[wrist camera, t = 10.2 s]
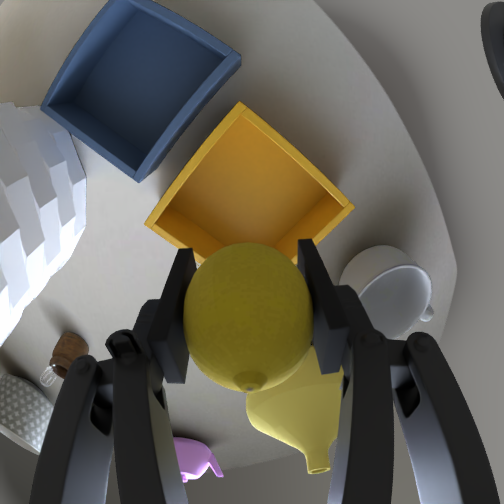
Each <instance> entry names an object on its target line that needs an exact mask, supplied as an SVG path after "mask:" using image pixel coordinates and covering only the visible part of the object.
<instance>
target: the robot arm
mask: <svg viewBox="0 0 504 504" xmlns="http://www.w3.org/2000/svg"><path fill="white" fill-rule="evenodd" d="M297 268H298V269H299V271H300V272H301V273H302V275H303V277H304V279H305V282H306V284H307V286H308V289H309V291H310V294H311V297H312V302H313V315H314V331H313V338H312V340H313V343H314V347H315V351H316V355H317V359H318V363H319V367H320V372H321V375H324V374H331V373H337V372H339V371H340V367H341V365H342V368H343V372H344V375H343V378H342V381H341V385H340V388H339V390H341V403H340V415H339V426H338V435H337V444H336V452H335V460H334V466H333V473H332V479H331V485H330V491H329V497H328V502H327V504H391V496H392V483H393V466H394V465H393V464H394V414H393V401H394V404H395V407H396V411H397V414H398V417H399V420H400V423H401V426H402V430H403V433H404V437H405V440H406V444H407V448H408V451H409V455H410V459H411V462H412V467H413V471H414V475H415V479H416V483H417V487H418V492H419V497H420V502H421V504H500V500H499V496H498V492H497V488H496V484H495V480H494V477H493V473H492V470H491V466H490V463H489V460H488V457H487V454H486V451H485V448H484V445H483V443H482V440H481V437H480V434H479V432H478V429H477V427H476V424H475V422H474V419H473V417H472V414H471V412H470V410H469V407H468V405H467V403H466V400H465V398H464V396H463V394H462V392H461V389H460V387H459V385H458V383H457V381H456V379H455V377H454V375H453V373H452V371H451V369H450V367H449V365H448V363H447V361H446V359H445V357H444V356H443V354H442V352H441V350H440V348H439V346H438V344H437V342H436V341H435V340H434V338H433V337H432V336H430V335H429V334H427V333H424V332H415V333H412V334H411V335H410V336H409V337H408V338H407V341H404V340H392V339H387V338H386V336H385V335H384V334H383V333H382V332H380V331H378V330H376V329H374V327H373V325H372V323H371V321H370V319H369V317H368V315H367V313H366V311H365V309H364V307H363V306H362V303H361V301H360V300H359V297H358V295H357V293H356V291H355V290H354V289H353V288H352V287H350V286H349V285H348V284H347V285H338V286H333V284H332V281H331V279H330V277H329V275H328V272H327V270H326V268H325V266H324V264H323V261H322V259H321V257H320V255H319V253H318V251H317V249H316V246H315V244H314V242H313V240H312V238H310V239H298V256H297ZM196 270H197V268H196V263H195V258H194V253H193V248H180V249H179V250H178V252H177V255H176V257H175V260H174V263H173V265H172V268H171V270H170V273H169V276H168V278H167V281H166V284H165V287H164V289H163V292H162V295H161V298H160V299H152V300H148V301H147V302H146V303H145V304H144V305H143V306H142V307H141V310H140V312H139V316H138V317H137V320H136V323H135V325H134V328H133V330H128V329H123V330H119V331H116V332H114V333H113V334H111V335H110V336H109V337H108V339H107V340H106V343H105V346H106V347H107V349H108V351H109V352H110V354H111V356H112V357H113V358H112V359H108V360H103V361H99V362H97V361H96V359H95V358H94V357H93V356H91V355H81V356H79V357H77V358H76V359H75V360H74V361H73V362H72V363H71V365H70V367H69V369H68V372H67V374H66V377H65V379H64V382H63V384H62V387H61V389H60V392H59V395H58V398H57V400H56V403H55V406H54V409H53V412H52V415H51V418H50V421H49V424H48V427H47V430H46V433H45V437H44V440H43V444H42V447H41V451H40V455H39V459H38V463H37V467H36V471H35V475H34V480H33V485H32V490H31V496H30V502H29V504H105V499H106V491H107V482H108V476H109V470H110V463H111V457H112V451H113V446H114V451H115V462H116V472H117V481H118V488H119V495H120V501H121V504H189V503H188V499H187V496H186V492H185V488H184V484H183V480H182V476H181V472H180V468H179V464H178V459H177V455H176V450H175V445H174V440H173V435H172V430H171V425H170V419H169V413H168V407H167V401H166V394H165V390H164V387H163V385H162V382H163V377H165V379H166V381H167V383H179V384H185V379H186V373H187V366H188V360H189V354H190V353H189V350H188V347H187V344H186V340H185V336H184V329H183V311H184V300H185V295H186V292H187V289H188V287H189V284H190V282H191V280H192V278H193V275H194V273H195V272H196Z"/></svg>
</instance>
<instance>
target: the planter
mask: <svg viewBox="0 0 504 504" xmlns="http://www.w3.org/2000/svg"><path fill="white" fill-rule="evenodd" d="M53 409H54V406H53V405H52V404H51V403H50V402H49V400H48V399H47V397H46V396H45V395H44V393H43V392H42V391H41V390H40V389H39V388H38V387H37V386H35V385H34V384H33V383H31V382H30V381H28V380H26V379H23V378H20V377H15V376H13V375H10V374H4V375H3V376H2V378H1V380H0V432H2V433H3V434H4V435H5V436H7V437H8V438H10V439H11V440H13V441H14V442H16V443H17V444H19V445H20V446H22V447H24V448H25V449H27V450H29V451H31V452H33V453H35V454H38V455H40V451H41V447H42V444H43V440H44V437H45V433H46V430H47V427H48V424H49V421H50V418H51V415H52V412H53Z"/></svg>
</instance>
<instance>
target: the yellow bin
mask: <svg viewBox="0 0 504 504" xmlns="http://www.w3.org/2000/svg"><path fill="white" fill-rule="evenodd" d="M354 208H355V206H354V205H353V204H352V203H351V202H350V201H349V200H348V199H347V197H346V196H345V195H344V194H343V193H342V192H341V191H340V190H339V189H338V188H337V187H336V186H335V185H334V184H333V183H332V182H331V181H330V180H329V179H328V178H327V177H326V176H325V175H324V174H323V173H322V172H321V171H320V170H319V169H318V168H317V167H316V166H314V165H313V164H312V163H311V162H310V161H309V160H308V159H307V158H306V157H305V156H304V155H303V154H302V153H301V152H300V151H298V150H297V149H296V148H295V147H294V146H293V145H292V144H291V143H290V142H289V141H287V140H286V139H285V138H284V137H283V136H282V135H281V134H279V133H278V132H277V131H276V130H275V129H274V128H272V127H271V126H270V125H269V124H268V123H267V122H265V121H264V120H263V119H262V118H261V117H259V116H258V115H257V114H256V113H254V112H253V111H252V110H251V109H250V108H248V107H247V106H246V105H245V104H243V103H242V102H241V101H239V102H238V103H237V104H236V105H235V106H234V107H233V108H232V109H231V111H230V112H229V113H228V114H227V115H226V116H225V117H224V119H223V120H222V121H221V122H220V123H219V124H218V126H217V127H216V128H215V129H214V130H213V132H212V133H211V134H210V135H209V136H208V138H207V139H206V140H205V141H204V142H203V144H202V145H201V146H200V147H199V149H198V150H197V151H196V152H195V154H194V155H193V156H192V158H191V159H190V160H189V161H188V163H187V164H186V165H185V167H184V168H183V169H182V171H181V172H180V173H179V175H178V176H177V177H176V179H175V180H174V181H173V183H172V184H171V185H170V187H169V188H168V190H167V191H166V192H165V194H164V195H163V197H162V198H161V199H160V201H159V202H158V204H157V205H156V207H155V208H154V209H153V211H152V212H151V214H150V215H149V217H148V218H147V220H146V221H145V223H144V225H145V226H147V227H148V228H150V229H151V230H152V231H154V232H155V233H157V234H158V235H160V236H161V237H162V238H164V239H165V240H167V241H168V242H169V243H171V244H172V245H174V246H175V247H177V248H178V249H180V248H193V253H194V258H195V260H196V261H197V262H198V263H200V264H201V265H202V263H203V262H204V261H205V260H206V259H207V258H208V257H209V256H211V255H212V254H214V253H215V252H217V251H218V250H220V249H221V248H224V247H226V246H229V245H232V244H236V243H245V242H250V243H259V244H264V245H266V246H269V247H272V248H275V249H276V250H278V251H279V252H281V253H282V254H284V255H285V256H287V257H288V258H289V259H290V260H291V261H292V262H293V263H294V265H296V264H297V256H298V239H310V238H312V240H313V242H314V244H315V246H316V245H317V244H318V243H319V242H320V241H321V240H322V239H323V238H325V237H326V236H327V235H328V234H329V233H330V232H331V231H332V230H333V229H334V228H335V227H336V226H337V225H338V224H339V223H340V222H341V221H342V220H343V219H344V218H345V217H346V216H347V215H348V214H349V213H350V212H351V211H352V210H353V209H354Z"/></svg>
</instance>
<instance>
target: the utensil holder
mask: <svg viewBox="0 0 504 504" xmlns="http://www.w3.org/2000/svg"><path fill="white" fill-rule="evenodd" d="M88 352H89V348H88V345H87V344H86V342H85V341H84V340H83V339H82V338H81V337H79V336H78V335H76V334H74V333H70V332H66V333H64V334H63V335H62V336H61V337H60V339H59V341H58V343H57V344H56V346H55V348H54V350H53V354H52V356H53V357H52V358H51V360H50V364H49V365H50V368H51V369H52V370H51V371H53V372H54V373H55V374H57V375H58V376H59V377H61V378H63V379H65V377H66V374H67V372H68V369H69V367H70V365H71V363H72V362H73V361H74V360H75V359H76V358H77V357H79V356H81V355H88ZM48 369H49V367H48ZM51 371H50V372H51ZM50 372H49V373H50ZM47 373H48V372H47ZM54 373H53V374H54ZM43 374H44V373H42V375H43ZM57 375H56V376H57ZM44 377H45V376H44ZM52 377H53V376H52ZM45 378H46V377H45ZM50 378H51V377H50ZM55 378H56V377H55ZM43 379H44V378H43ZM50 380H51V379H50ZM43 381H44V380H43ZM43 381H42V382H43ZM40 382H41V377H40ZM47 382H48V381H47ZM47 382H46V383H47ZM53 382H54V380H53ZM53 382H52V383H53ZM48 383H49V382H48ZM48 383H47V384H48ZM41 384H42V385H43V386H45V385H44V384H43V383H41ZM47 384H46V385H47ZM45 387H46V386H45ZM48 387H49V385H48Z"/></svg>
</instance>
